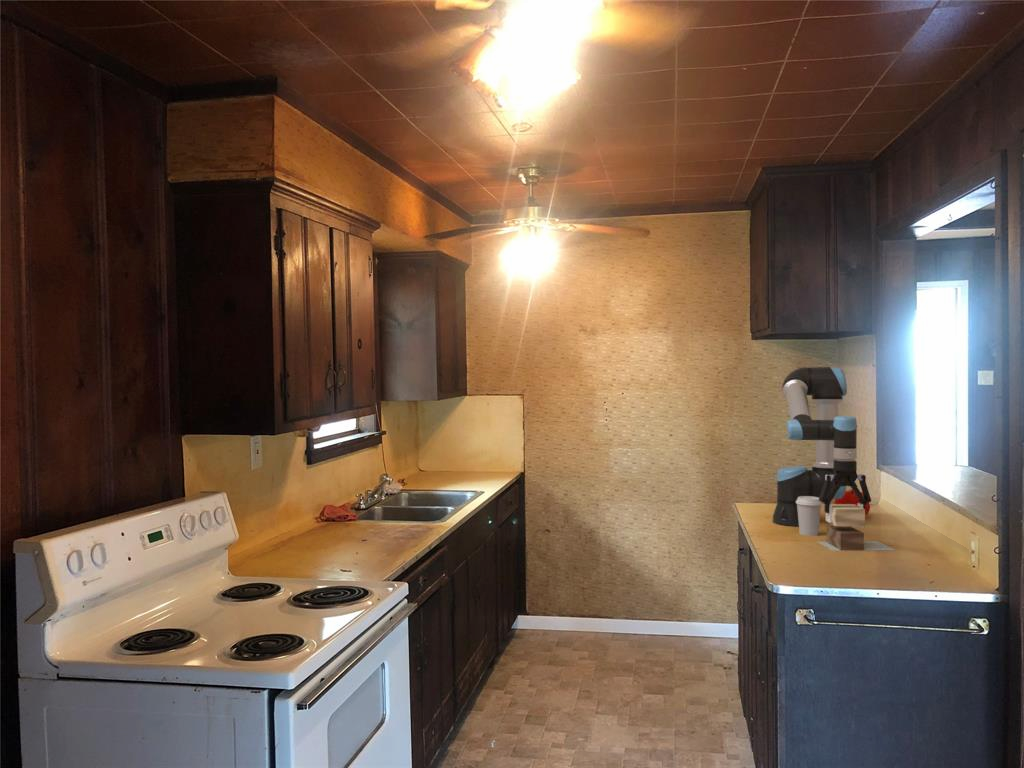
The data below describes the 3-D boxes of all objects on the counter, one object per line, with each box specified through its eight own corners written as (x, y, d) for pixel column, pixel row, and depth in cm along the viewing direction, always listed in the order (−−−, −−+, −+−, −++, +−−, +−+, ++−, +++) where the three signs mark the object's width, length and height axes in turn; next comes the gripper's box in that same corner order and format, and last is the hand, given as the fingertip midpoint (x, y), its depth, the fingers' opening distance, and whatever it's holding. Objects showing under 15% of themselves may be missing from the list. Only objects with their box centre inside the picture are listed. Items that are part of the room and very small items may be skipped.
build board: (817, 544, 276) (817, 541, 276) (877, 544, 276) (877, 541, 276) (832, 553, 263) (832, 550, 263) (895, 553, 263) (895, 549, 263)
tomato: (868, 521, 317) (868, 493, 316) (832, 518, 324) (832, 490, 323) (871, 515, 328) (871, 488, 328) (836, 512, 335) (836, 486, 335)
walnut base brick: (826, 542, 275) (826, 525, 275) (848, 542, 275) (848, 525, 275) (840, 550, 263) (840, 533, 263) (863, 550, 263) (863, 533, 263)
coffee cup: (824, 540, 283) (824, 500, 283) (797, 539, 285) (797, 499, 285) (819, 534, 293) (819, 496, 292) (793, 533, 295) (793, 495, 294)
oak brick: (825, 520, 274) (825, 504, 274) (853, 520, 273) (853, 504, 273) (835, 526, 264) (835, 509, 264) (865, 526, 263) (865, 509, 263)
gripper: (817, 461, 265) (817, 524, 265) (882, 460, 264) (882, 524, 265) (808, 458, 272) (808, 520, 272) (872, 458, 272) (872, 519, 272)
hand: (844, 522), depth 269 cm, fingers closed on oak brick, 10 cm apart
